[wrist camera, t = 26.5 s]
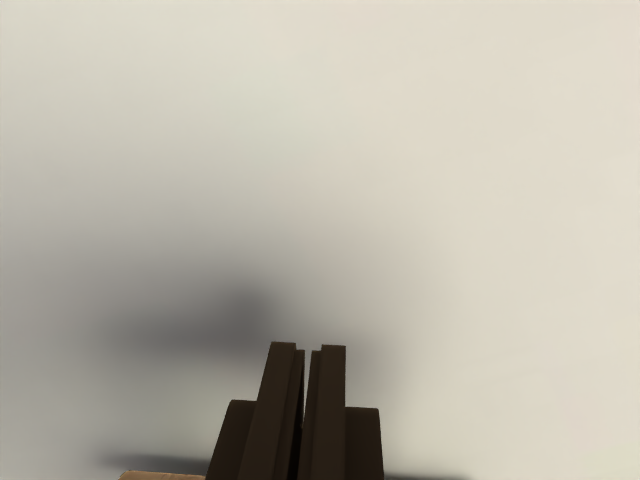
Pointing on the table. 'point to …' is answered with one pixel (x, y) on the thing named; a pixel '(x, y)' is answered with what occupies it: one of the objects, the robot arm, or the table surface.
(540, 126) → the table surface
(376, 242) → the table surface
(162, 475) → the drawer
